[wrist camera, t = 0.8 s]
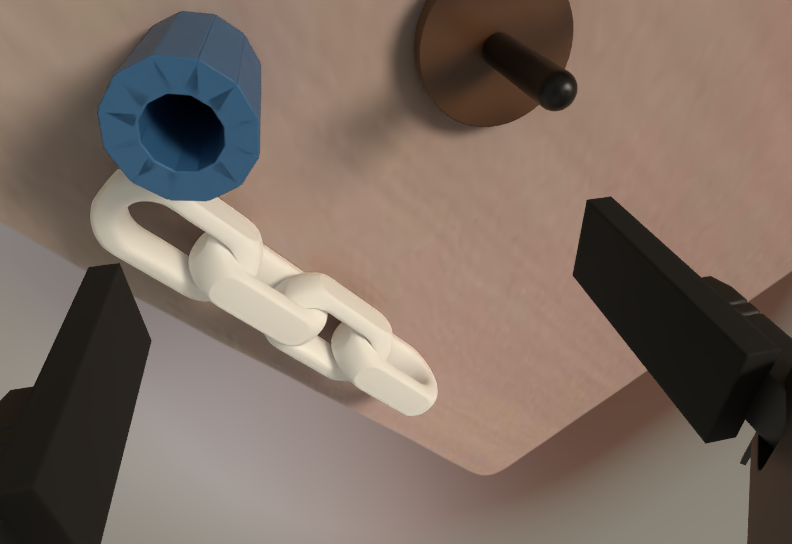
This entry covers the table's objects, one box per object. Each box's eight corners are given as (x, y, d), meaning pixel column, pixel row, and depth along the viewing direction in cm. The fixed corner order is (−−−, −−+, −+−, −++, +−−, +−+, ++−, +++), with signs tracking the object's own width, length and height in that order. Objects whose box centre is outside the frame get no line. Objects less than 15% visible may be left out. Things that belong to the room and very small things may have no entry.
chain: (443, 346, 50) (462, 397, 45) (394, 385, 51) (408, 438, 47) (144, 130, 34) (123, 172, 29) (89, 197, 36) (60, 247, 31)
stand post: (478, 41, 33) (541, 86, 26) (508, 26, 33) (580, 67, 25) (487, 71, 34) (550, 123, 27) (516, 57, 34) (587, 105, 27)
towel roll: (115, 45, 31) (62, 100, 23) (220, -10, 30) (204, 27, 22) (187, 146, 35) (164, 223, 27) (281, 100, 34) (286, 164, 26)
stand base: (389, 0, 32) (394, 4, 31) (545, -78, 32) (556, -76, 30) (443, 143, 38) (449, 151, 37) (575, 80, 38) (585, 87, 36)
